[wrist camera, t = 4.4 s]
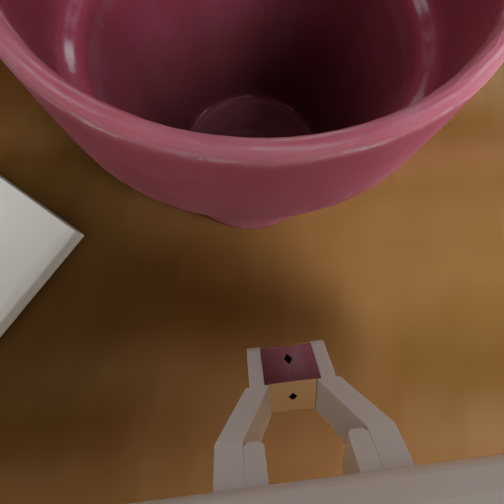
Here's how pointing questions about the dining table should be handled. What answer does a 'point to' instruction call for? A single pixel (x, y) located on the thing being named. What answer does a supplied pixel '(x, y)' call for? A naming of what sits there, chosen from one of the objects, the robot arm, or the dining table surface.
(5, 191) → the external hard drive
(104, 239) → the dining table surface
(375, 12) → the plant pot
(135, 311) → the dining table surface
